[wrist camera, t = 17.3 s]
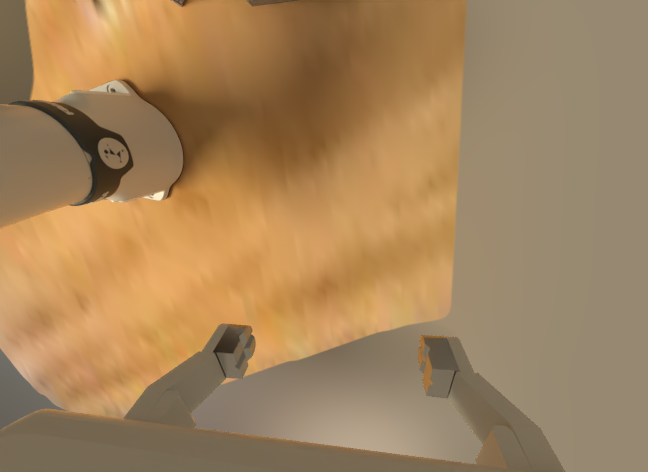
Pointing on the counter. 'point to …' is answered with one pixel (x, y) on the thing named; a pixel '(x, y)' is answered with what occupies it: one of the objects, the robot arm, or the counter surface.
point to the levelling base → (266, 2)
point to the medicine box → (178, 2)
